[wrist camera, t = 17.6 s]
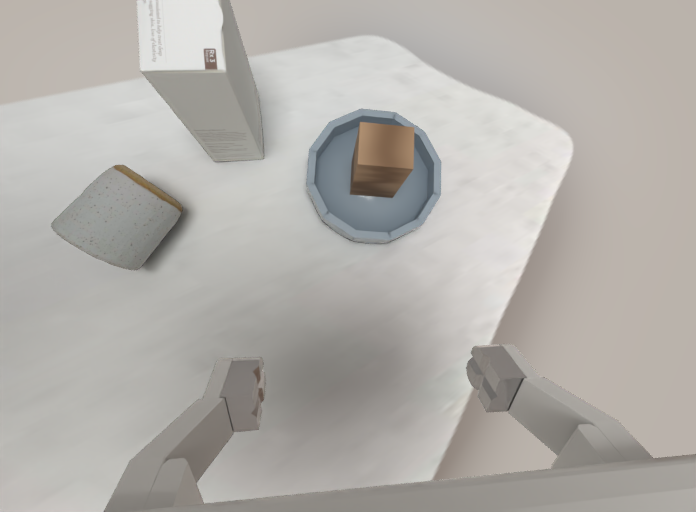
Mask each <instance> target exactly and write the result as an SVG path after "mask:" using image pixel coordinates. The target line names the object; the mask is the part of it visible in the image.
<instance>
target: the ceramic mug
mask: <svg viewBox="0 0 696 512" xmlns="http://www.w3.org/2000/svg"><path fill="white" fill-rule="evenodd" d="M181 212H182V207H181V204H180V203H179V202H177V201H176V200H175V199H173V198H172V197H170V196H169V195H167V194H166V193H165V192H163V191H162V190H160V189H159V188H157V187H156V186H154V185H153V184H151V183H150V182H148V181H147V180H146V179H144V178H143V177H141V176H140V175H138V174H137V173H135V172H134V171H132V170H131V169H129V168H128V167H126V166H124V165H115V166H113V167H111V168H110V169H108V170H107V171H105V172H104V173H102V174H101V175H100V176H99V177H98V178H97V179H96V180H95V181H94V182H93V183H91V184H90V185H89V186H88V187H87V188H86V189H85V190H84V192H83V193H82V194H81V195H80V196H79V197H78V198H77V199H76V200H75V201H74V202H73V203H72V204H71V205H70V206H68V207H67V208H66V209H65V210H64V211H63V212H62V213H61V214H60V215H59V216H58V217H57V218H56V219H55V220H54V221H53V223H52V224H51V227H52V228H53V230H54V231H55V232H56V233H57V234H58V235H59V236H61V237H62V238H63V239H64V240H66V241H68V242H69V243H70V244H72V245H74V246H76V247H77V248H79V249H80V250H82V251H84V252H86V253H87V254H89V255H91V256H93V257H95V258H97V259H100V260H103V261H105V262H107V263H109V264H112V265H114V266H118V267H121V268H125V269H129V270H138V269H139V268H141V266H142V265H143V264H144V262H145V261H146V260H147V259H148V257H149V256H150V255H151V253H152V252H153V251H154V250H155V248H156V247H157V246H158V245H159V243H160V242H161V241H162V239H163V238H164V237H165V236H166V234H167V233H168V232H169V231H170V230H171V228H172V227H173V226H174V225H175V223H176V222H177V220H178V218H179V217H180V215H181Z"/></svg>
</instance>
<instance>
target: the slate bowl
mask: <svg viewBox="0 0 696 512" xmlns="http://www.w3.org/2000/svg"><path fill="white" fill-rule="evenodd" d="M360 122H367V123H377V124H387V125H397V126H407V127H414V165H413V170H412V172H411V173H410V174H409V176H408V177H407V179H406V180H405V181H404V183H403V184H402V186H401V187H400V188H399V190H398V191H397V193H396V194H395V195H394V197H393V198H386V197H373V196H361V195H350V182H351V164H352V158H353V153H354V148H355V143H356V138H357V134H358V129H359V124H360ZM307 190H308V193H309V195H310V197H311V199H312V202H313V204H314V206H315V209H316V210H317V212H318V214H319V216H320V217H321V219H322V221H323V222H324V223H326V224H327V225H328V226H329V227H330V228H331V229H333V230H334V231H335V232H337V233H338V234H340V235H342V236H343V237H345V238H348V239H350V240H353V241H357V242H360V243H368V244H377V243H388V242H390V241H392V240H395V239H397V238H400V237H401V236H403V235H405V234H407V233H409V232H411V231H413V230H415V229H417V228H418V227H419V226H421V225H422V224H423V223H424V221H425V220H426V218H427V216H428V215H429V213H430V212H431V210H432V208H433V207H434V205H435V204H436V202H437V201H438V199H439V197H440V195H441V160H440V159H439V157H438V155H437V153H436V151H435V149H434V148H433V146H432V144H431V142H430V140H429V139H428V137H427V135H426V133H425V132H424V131H423V130H422V129H420V128H419V127H417V126H416V125H414V124H413V123H411V122H410V121H408V120H407V119H405V118H403V117H402V116H400V115H399V114H397V113H395V112H388V111H379V110H369V109H359V110H357V111H354V112H352V113H349V114H347V115H345V116H342V117H340V118H338V119H335V120H333V121H331V122H329V123H328V124H327V126H326V127H325V129H324V130H323V131H322V133H321V134H320V135H319V137H318V138H317V139H316V141H315V142H314V144H313V145H312V146H311V148H310V149H309V158H308V171H307Z"/></svg>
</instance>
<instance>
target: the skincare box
mask: <svg viewBox="0 0 696 512" xmlns="http://www.w3.org/2000/svg"><path fill="white" fill-rule="evenodd" d="M137 20H138V21H137V22H138V41H139V60H140V72H142V74H143V75H144V76H145V77H146V79H147V80H148V81H149V82H150V83H151V85H152V86H153V87H154V88H155V89H156V91H157V92H158V93H159V94H160V96H161V97H162V98H163V99H164V100H165V101H166V103H167V104H168V105H169V106H170V108H171V109H172V110H173V111H174V113H175V114H176V115H177V117H178V118H179V119H180V120H181V121H182V123H183V124H184V125H185V126H186V128H187V129H188V130H189V131H190V133H191V134H192V135H193V136H194V137H195V139H196V140H197V141H198V142H199V144H200V145H201V146H202V147H203V149H204V150H205V151H206V152H207V153H208V155H209V156H210V157H211V158H212V159H213V161H215V162H218V161H240V160H261V159H264V148H263V134H262V122H261V113H260V106H259V95H258V92H257V89H256V85H255V82H254V79H253V75H252V72H251V69H250V65H249V62H248V59H247V55H246V52H245V49H244V46H243V43H242V39H241V36H240V33H239V29H238V26H237V23H236V20H235V17H234V13H233V10H232V6H231V3H230V0H137Z"/></svg>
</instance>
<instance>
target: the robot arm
mask: <svg viewBox="0 0 696 512" xmlns="http://www.w3.org/2000/svg"><path fill="white" fill-rule="evenodd" d="M471 354H472V356H473V357H472V358H471V359H470V360H469V361H468V363H467V367H466V369H467V376H468V379H469V381H470V383H471V385H472V386H473V387H474V388H475V389H477V390H478V398H479V399H480V402H481V403H482V405H483V407H484V409H485V410H486V412H503V411H508V413H509V414H510V415H512V416H513V417H514V418H515V419H516V420H517V421H518V422H520V423H521V424H522V425H523V426H524V427H525V428H526V429H528V430H529V431H530V432H531V433H532V434H534V435H535V436H536V437H537V438H538V439H539V440H540V441H541V442H543V443H544V444H545V445H546V446H547V447H548V448H550V449H551V450H552V451H553V452H554V453H555V454H556V455H558V456H557V458H556V459H555V461H554V462H553V464H552V466H551V469H545V470H535V471H525V472H514V473H504V474H494V475H484V476H474V477H464V478H454V479H444V480H434V481H424V482H414V483H404V484H394V485H384V486H374V487H365V488H355V489H345V490H335V491H325V492H315V493H305V494H295V495H285V496H275V497H265V498H256V499H246V500H236V501H226V502H216V503H206V504H204V502H203V499H202V497H201V494H200V492H199V489H198V487H197V484H196V483H197V481H198V480H199V479H200V477H201V476H202V475H203V473H204V472H205V471H206V469H207V468H208V467H209V465H210V464H211V463H212V461H213V460H214V459H215V457H216V456H217V455H218V454H219V452H220V451H221V450H222V448H223V447H224V446H225V444H226V443H227V442H228V440H229V439H230V438H231V436H232V435H233V432H241V431H250V430H259V425H260V419H261V414H262V408H261V402H262V401H263V400H264V396H265V386H266V378H265V372H264V371H262V370H263V365H264V363H263V358H262V357H243V358H219V359H218V361H217V362H216V364H215V367H214V370H213V372H212V375H211V378H210V380H209V383H208V386H207V388H206V391H205V393H204V396H203V399H198V400H197V401H195V402H194V403H193V404H192V405H191V406H190V407H189V408H188V409H187V410H186V411H184V412H183V413H182V414H181V415H180V416H179V417H178V418H177V419H176V420H175V421H173V422H172V423H171V424H170V425H169V426H168V427H167V428H166V429H165V430H163V431H162V432H161V433H160V434H159V435H158V436H157V437H156V438H155V439H154V440H152V441H151V442H150V443H149V444H148V445H147V446H146V447H145V448H144V449H142V450H141V451H140V452H139V453H138V454H137V455H136V456H135V457H134V458H133V459H131V460H130V462H129V464H128V466H127V468H126V470H125V472H124V473H123V475H122V477H121V479H120V481H119V483H118V485H117V487H116V489H115V491H114V493H113V495H112V497H111V499H110V501H109V502H108V504H107V506H106V508H105V510H104V512H696V454H693V455H682V456H673V457H663V458H653V457H652V456H651V455H650V454H649V453H648V452H647V451H646V450H645V449H644V448H643V446H642V445H641V444H640V443H639V442H638V441H637V440H636V439H635V438H634V437H633V436H632V435H631V434H630V433H629V432H628V431H627V430H626V429H625V427H624V426H623V425H622V424H621V423H620V422H619V421H618V420H616V419H615V418H613V417H611V416H609V415H608V414H606V413H604V412H603V411H601V410H599V409H598V408H596V407H594V406H592V405H591V404H589V403H587V402H586V401H584V400H582V399H581V398H579V397H577V396H576V395H574V394H572V393H571V392H569V391H567V390H565V389H564V388H562V387H560V386H559V385H557V384H555V383H554V382H552V381H550V380H549V379H547V378H545V377H540V376H539V374H538V373H537V372H536V371H535V370H534V369H533V367H532V366H531V365H530V364H529V362H528V361H527V360H526V359H525V358H524V356H523V355H522V354H521V353H520V351H519V350H518V349H517V348H516V347H515V346H514V345H513V344H501V345H482V346H474V347H473V348H472V351H471Z"/></svg>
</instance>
